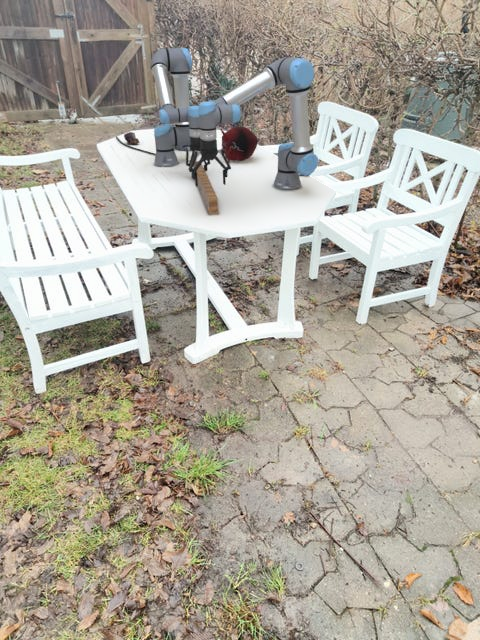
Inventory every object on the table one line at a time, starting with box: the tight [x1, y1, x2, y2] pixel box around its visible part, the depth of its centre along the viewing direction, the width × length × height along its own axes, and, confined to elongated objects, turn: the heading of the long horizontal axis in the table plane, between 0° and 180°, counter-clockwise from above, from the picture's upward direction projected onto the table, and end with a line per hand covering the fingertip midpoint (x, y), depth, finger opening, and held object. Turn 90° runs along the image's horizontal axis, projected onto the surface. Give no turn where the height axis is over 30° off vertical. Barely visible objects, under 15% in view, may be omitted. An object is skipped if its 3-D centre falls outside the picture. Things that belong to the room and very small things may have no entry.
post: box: [193, 160, 219, 216], centre depth 244 cm, size 65×4×8 cm, turn 11°
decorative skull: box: [220, 126, 259, 164], centre depth 296 cm, size 21×24×25 cm
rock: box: [123, 131, 140, 145], centre depth 337 cm, size 12×9×10 cm
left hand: (198, 176), depth 267 cm, fingers open, 7 cm apart
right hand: (210, 185), depth 218 cm, fingers open, 13 cm apart
